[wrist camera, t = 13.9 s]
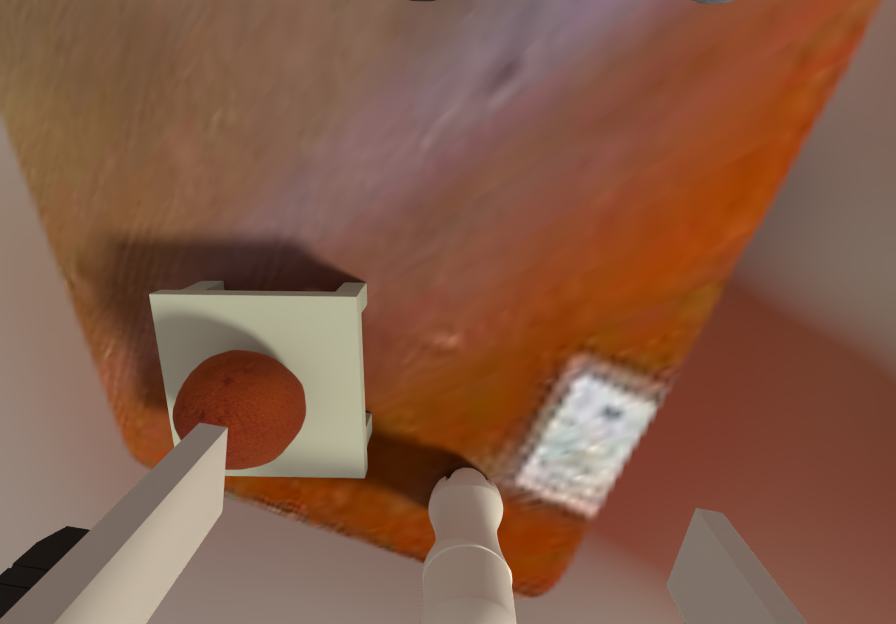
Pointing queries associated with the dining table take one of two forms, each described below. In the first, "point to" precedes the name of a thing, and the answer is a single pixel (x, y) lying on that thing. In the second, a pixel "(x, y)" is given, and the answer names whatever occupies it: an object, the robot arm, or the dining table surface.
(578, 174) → the dining table surface
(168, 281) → the dining table surface
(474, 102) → the dining table surface
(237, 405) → the fruit
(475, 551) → the water bottle
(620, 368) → the dining table surface
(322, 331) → the small white table
